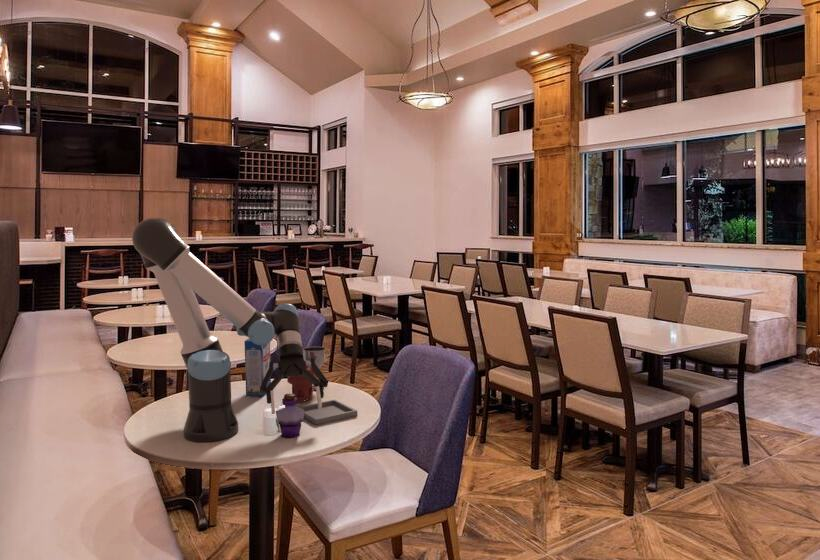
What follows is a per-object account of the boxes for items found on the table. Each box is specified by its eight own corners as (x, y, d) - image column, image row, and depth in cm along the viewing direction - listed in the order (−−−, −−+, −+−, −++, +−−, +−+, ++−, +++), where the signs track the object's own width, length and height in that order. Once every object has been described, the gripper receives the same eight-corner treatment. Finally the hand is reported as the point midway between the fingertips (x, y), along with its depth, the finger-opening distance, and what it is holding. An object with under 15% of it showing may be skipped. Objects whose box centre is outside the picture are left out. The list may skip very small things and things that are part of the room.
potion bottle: (270, 434, 172) (269, 393, 171) (296, 427, 178) (295, 388, 177) (283, 442, 166) (282, 400, 164) (310, 435, 171) (310, 395, 170)
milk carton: (254, 388, 219) (253, 335, 217) (271, 389, 219) (269, 335, 217) (246, 396, 209) (244, 341, 207) (263, 397, 209) (261, 341, 207)
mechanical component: (319, 395, 210) (314, 404, 200) (291, 395, 211) (284, 404, 201) (318, 361, 209) (313, 368, 199) (290, 361, 209) (284, 368, 199)
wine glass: (311, 384, 225) (310, 345, 223) (329, 386, 222) (329, 347, 220) (300, 390, 217) (299, 350, 216) (319, 392, 214) (318, 351, 213)
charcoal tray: (316, 425, 180) (316, 419, 179) (295, 412, 191) (295, 407, 191) (357, 416, 188) (357, 410, 188) (334, 404, 200) (334, 399, 200)
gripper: (328, 351, 192) (337, 411, 180) (248, 357, 185) (253, 420, 172) (330, 339, 187) (340, 400, 174) (249, 345, 179) (253, 408, 167)
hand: (297, 410), depth 173 cm, fingers open, 13 cm apart
